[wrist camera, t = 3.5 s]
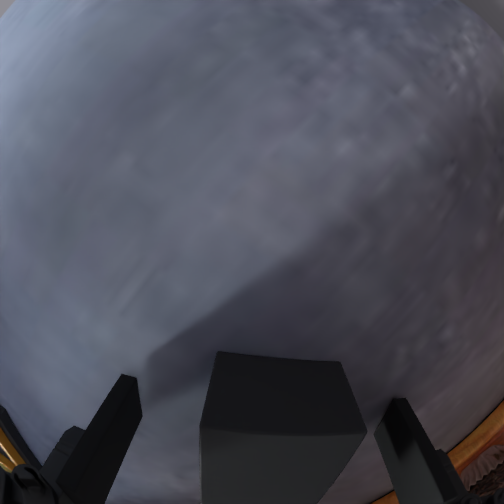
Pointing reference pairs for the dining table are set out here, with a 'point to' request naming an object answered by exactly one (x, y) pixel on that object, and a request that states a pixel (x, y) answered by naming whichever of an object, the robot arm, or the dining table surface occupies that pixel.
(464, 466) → the chocolate muffin tray
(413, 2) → the dining table surface
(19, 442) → the base
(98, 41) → the dining table surface
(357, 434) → the black rectangular block
